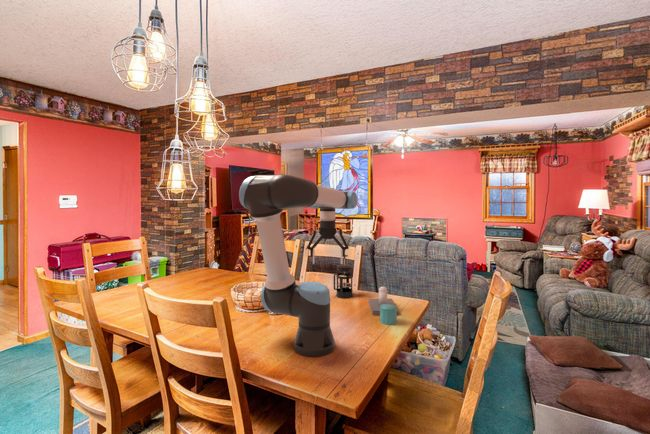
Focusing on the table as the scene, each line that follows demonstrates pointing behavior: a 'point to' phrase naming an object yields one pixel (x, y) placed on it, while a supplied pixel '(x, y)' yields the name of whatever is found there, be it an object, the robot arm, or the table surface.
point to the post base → (377, 307)
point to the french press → (344, 288)
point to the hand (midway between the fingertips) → (327, 263)
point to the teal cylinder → (388, 314)
